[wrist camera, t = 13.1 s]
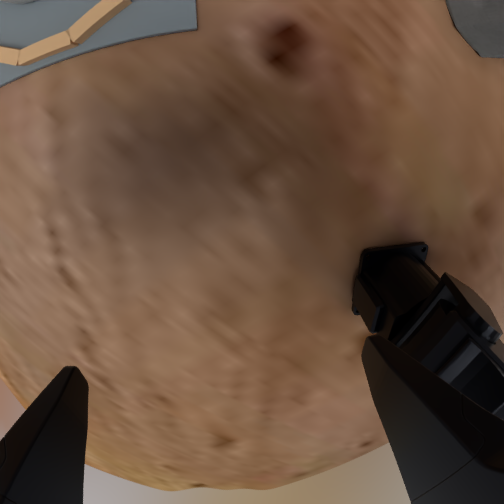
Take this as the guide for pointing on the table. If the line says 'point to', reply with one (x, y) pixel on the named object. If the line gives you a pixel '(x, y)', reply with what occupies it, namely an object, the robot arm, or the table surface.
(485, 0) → the coffeepot
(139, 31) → the collar mat
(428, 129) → the table surface
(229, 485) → the table surface
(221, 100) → the table surface
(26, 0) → the cup
